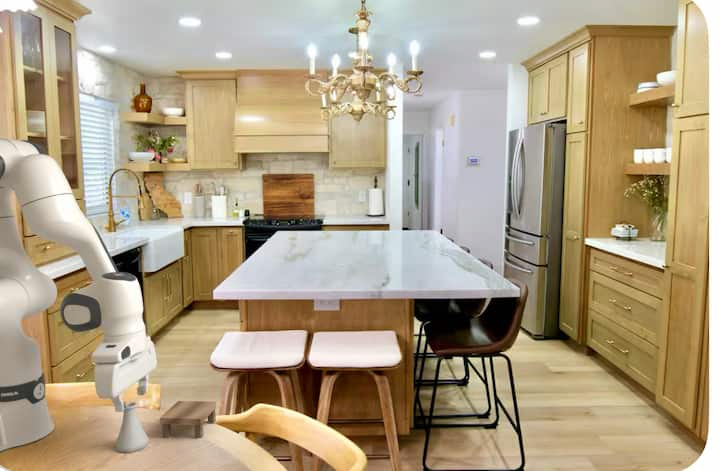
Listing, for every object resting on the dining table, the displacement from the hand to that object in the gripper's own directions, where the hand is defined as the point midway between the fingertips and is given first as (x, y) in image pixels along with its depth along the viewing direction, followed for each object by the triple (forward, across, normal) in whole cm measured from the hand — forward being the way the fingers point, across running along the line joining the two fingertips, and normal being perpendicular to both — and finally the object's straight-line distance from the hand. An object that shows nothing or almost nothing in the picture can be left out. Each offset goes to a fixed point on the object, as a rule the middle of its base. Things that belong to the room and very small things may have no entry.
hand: (132, 402), depth 126 cm
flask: (+11, 0, -1) cm, 11 cm away
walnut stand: (+11, -9, +9) cm, 17 cm away
